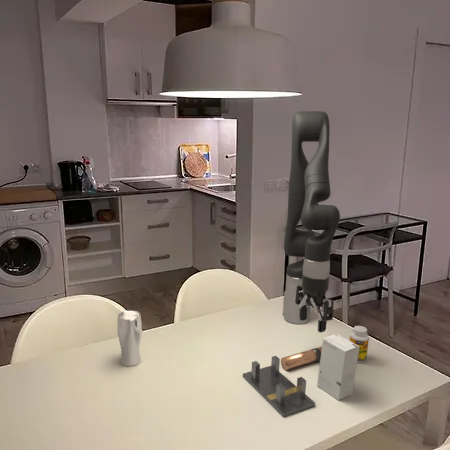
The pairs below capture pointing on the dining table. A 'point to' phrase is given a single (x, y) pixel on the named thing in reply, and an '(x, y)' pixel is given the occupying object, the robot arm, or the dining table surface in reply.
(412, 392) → the dining table surface
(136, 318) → the white sculpted vase
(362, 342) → the supplement bottle
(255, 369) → the tube holder
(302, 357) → the copper tube
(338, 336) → the skincare box
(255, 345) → the dining table surface
